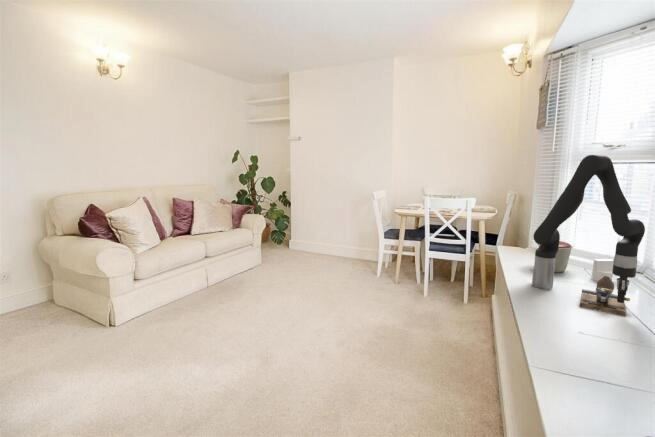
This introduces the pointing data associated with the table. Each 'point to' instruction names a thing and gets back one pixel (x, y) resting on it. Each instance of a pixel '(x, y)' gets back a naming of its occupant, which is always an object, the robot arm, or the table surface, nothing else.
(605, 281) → the vase
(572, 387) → the table surface
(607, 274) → the base with upright slab
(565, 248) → the canister
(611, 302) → the stand
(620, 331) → the table surface
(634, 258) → the robot arm
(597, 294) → the capstan
